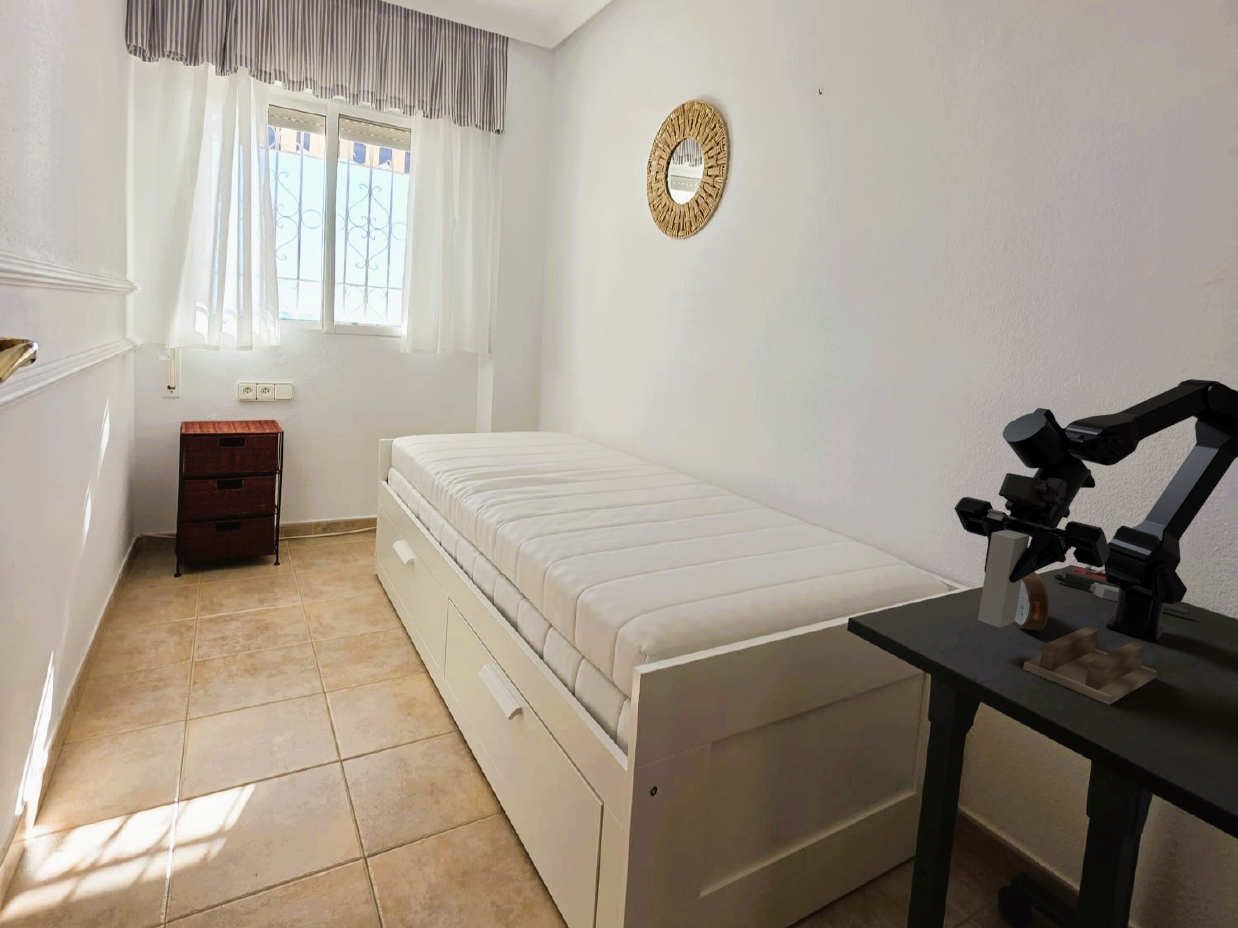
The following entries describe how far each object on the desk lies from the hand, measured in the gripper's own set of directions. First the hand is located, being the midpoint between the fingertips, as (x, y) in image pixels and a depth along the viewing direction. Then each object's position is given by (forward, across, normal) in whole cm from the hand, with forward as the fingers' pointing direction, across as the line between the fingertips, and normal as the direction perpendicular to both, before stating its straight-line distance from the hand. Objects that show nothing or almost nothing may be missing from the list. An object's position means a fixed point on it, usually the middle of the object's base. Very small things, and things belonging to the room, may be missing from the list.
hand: (998, 576), depth 94 cm
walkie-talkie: (-24, -1, +41) cm, 48 cm away
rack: (+3, +10, +12) cm, 16 cm away
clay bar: (+4, 0, +6) cm, 7 cm away
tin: (-4, -4, +20) cm, 21 cm away
